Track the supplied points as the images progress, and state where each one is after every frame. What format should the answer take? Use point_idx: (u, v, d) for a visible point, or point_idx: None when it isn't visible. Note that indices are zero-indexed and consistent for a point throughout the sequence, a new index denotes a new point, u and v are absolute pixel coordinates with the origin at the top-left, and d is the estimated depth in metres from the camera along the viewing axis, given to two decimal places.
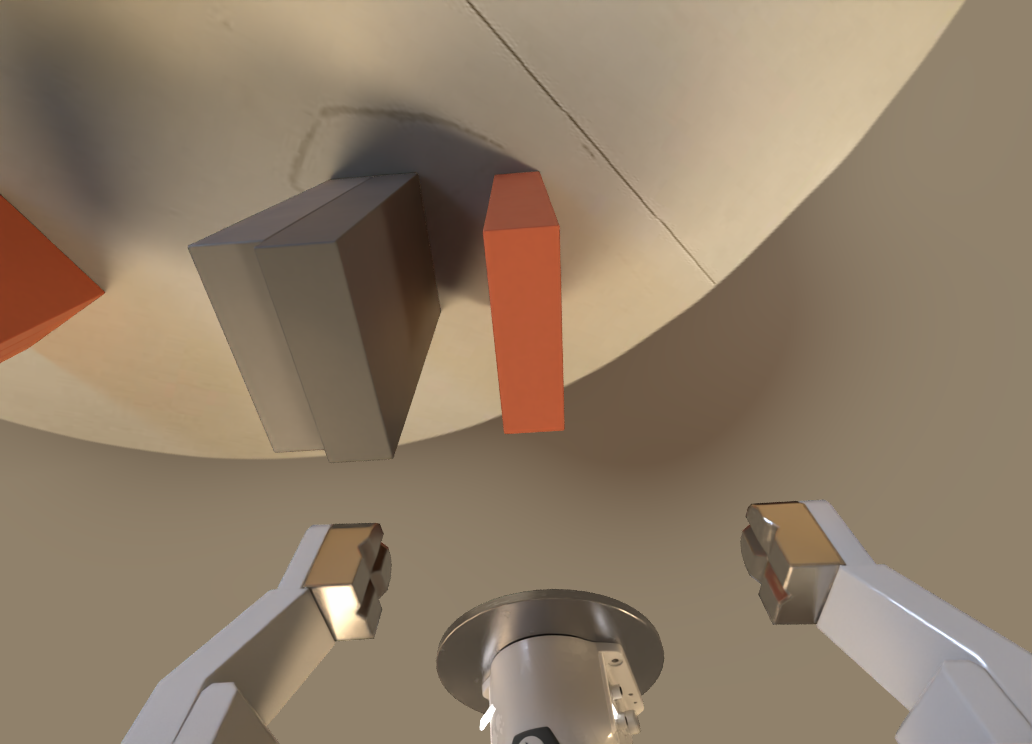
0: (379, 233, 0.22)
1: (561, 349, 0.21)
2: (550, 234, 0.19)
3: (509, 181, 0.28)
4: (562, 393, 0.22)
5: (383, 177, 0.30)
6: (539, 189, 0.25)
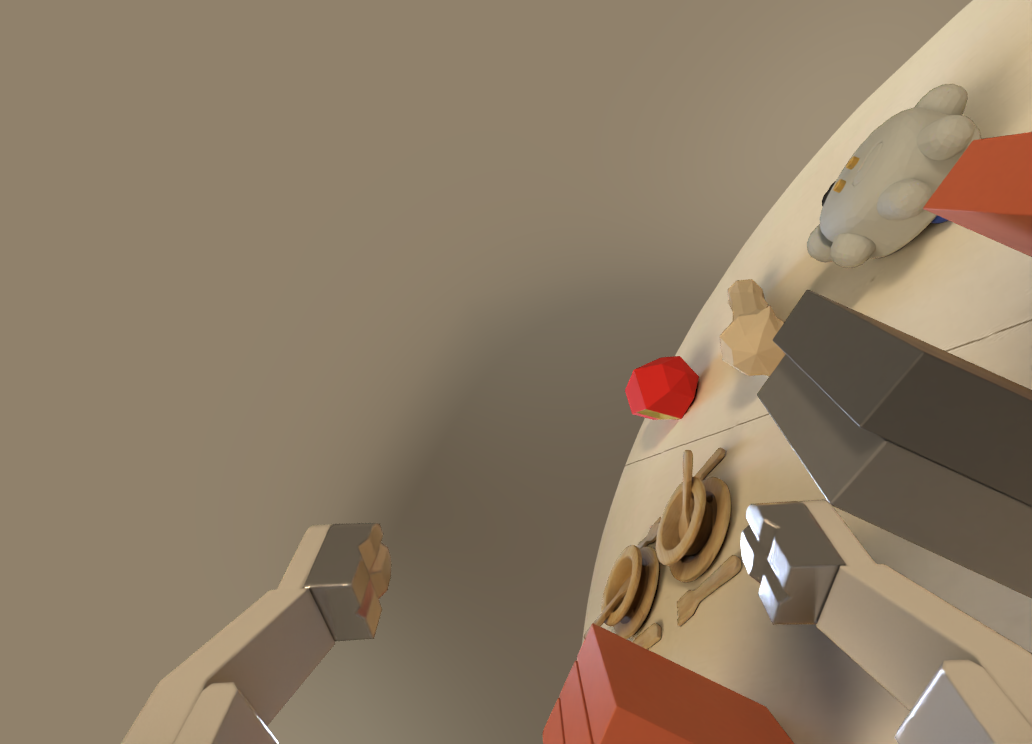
0: (919, 340, 0.23)
1: None
2: (971, 147, 0.20)
3: None
4: None
5: None
6: None
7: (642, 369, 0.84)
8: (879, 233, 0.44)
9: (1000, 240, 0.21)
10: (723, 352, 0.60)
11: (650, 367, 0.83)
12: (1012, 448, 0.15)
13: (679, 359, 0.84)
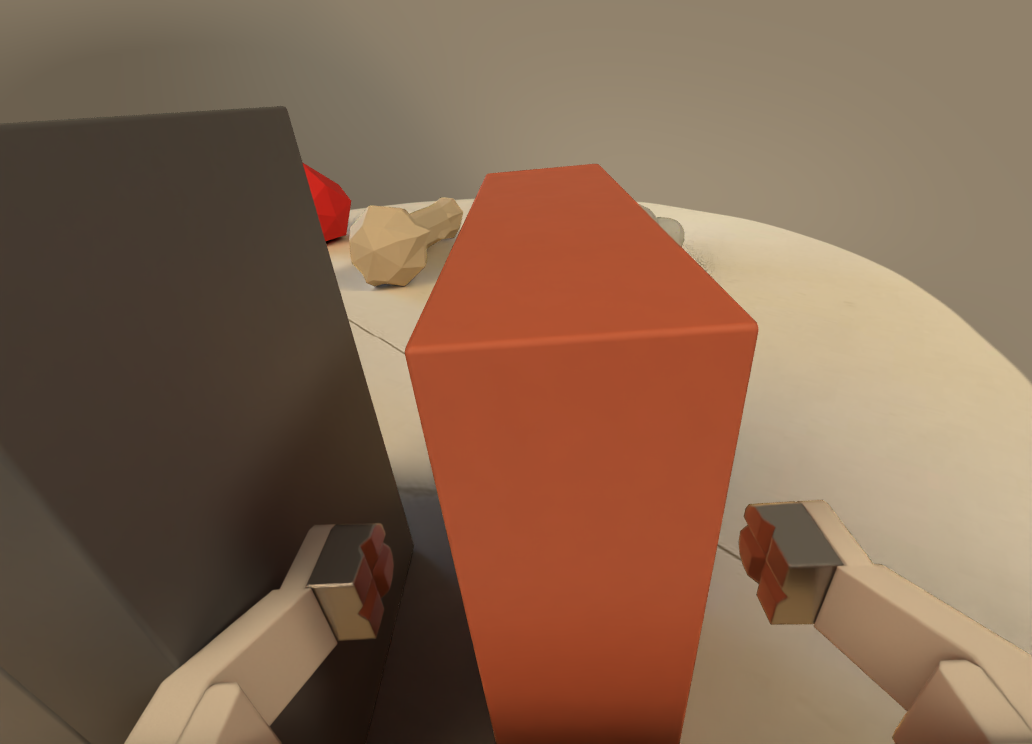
0: (331, 313, 0.14)
1: (640, 208, 0.08)
2: (586, 166, 0.12)
3: None
4: (680, 249, 0.06)
5: None
6: None
7: (304, 168, 0.65)
8: None
9: None
10: (357, 221, 0.48)
11: (313, 175, 0.65)
12: None
13: (346, 202, 0.68)
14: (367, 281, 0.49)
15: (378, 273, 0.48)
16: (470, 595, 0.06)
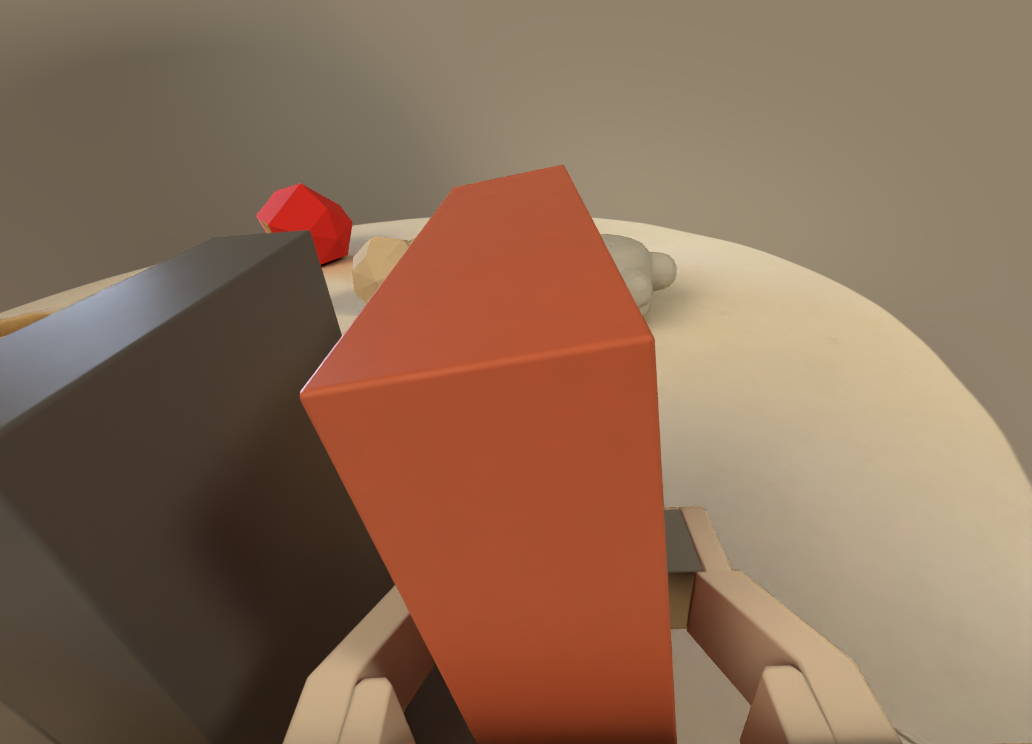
0: None
1: (585, 211, 0.08)
2: (550, 168, 0.12)
3: None
4: (606, 254, 0.06)
5: None
6: None
7: (307, 192, 0.66)
8: None
9: None
10: (359, 252, 0.50)
11: (315, 199, 0.66)
12: (52, 668, 0.07)
13: (348, 224, 0.70)
14: None
15: None
16: (424, 627, 0.06)
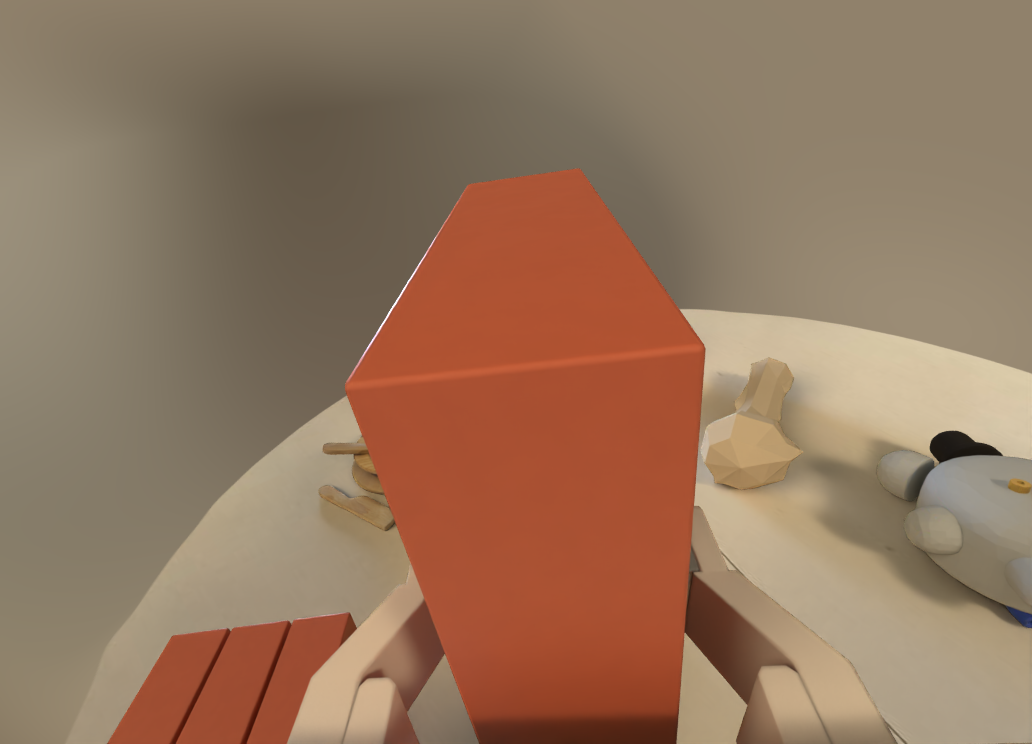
0: None
1: (611, 216, 0.08)
2: (567, 171, 0.12)
3: None
4: (641, 261, 0.06)
5: None
6: None
7: None
8: (975, 561, 0.35)
9: None
10: (718, 425, 0.48)
11: None
12: None
13: None
14: (716, 482, 0.48)
15: (733, 481, 0.47)
16: (441, 623, 0.06)
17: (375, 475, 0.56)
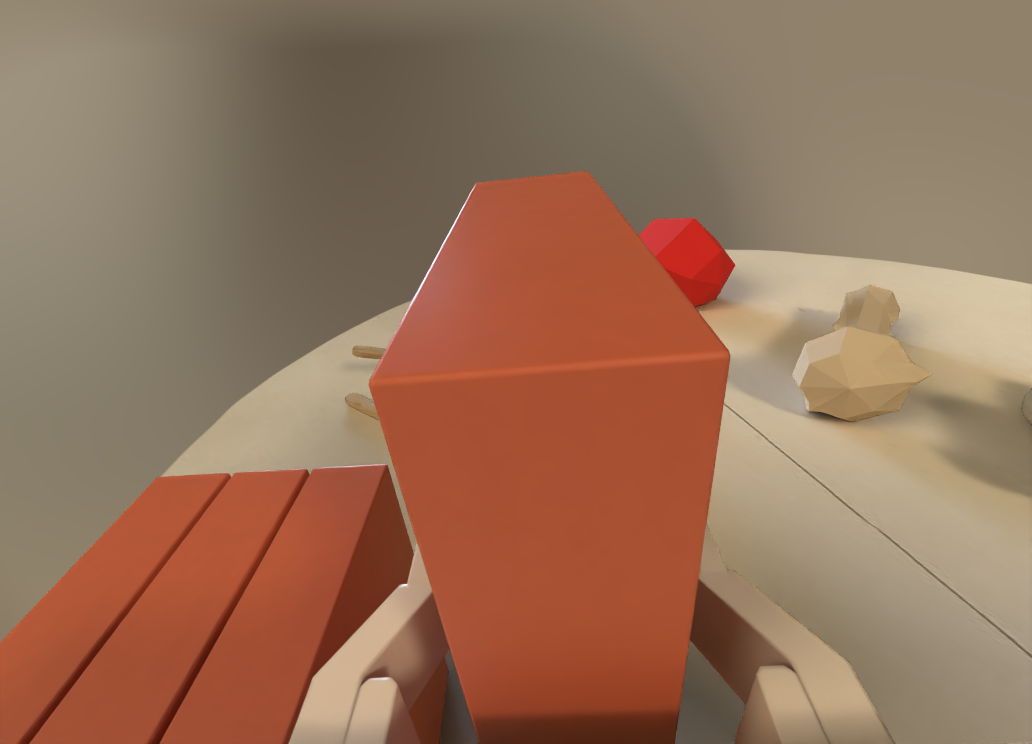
0: None
1: (624, 220, 0.08)
2: (575, 173, 0.12)
3: None
4: (659, 266, 0.06)
5: None
6: None
7: (700, 229, 0.59)
8: None
9: None
10: (821, 340, 0.40)
11: (708, 238, 0.58)
12: None
13: (731, 267, 0.60)
14: (811, 410, 0.41)
15: (835, 408, 0.39)
16: (450, 622, 0.06)
17: None
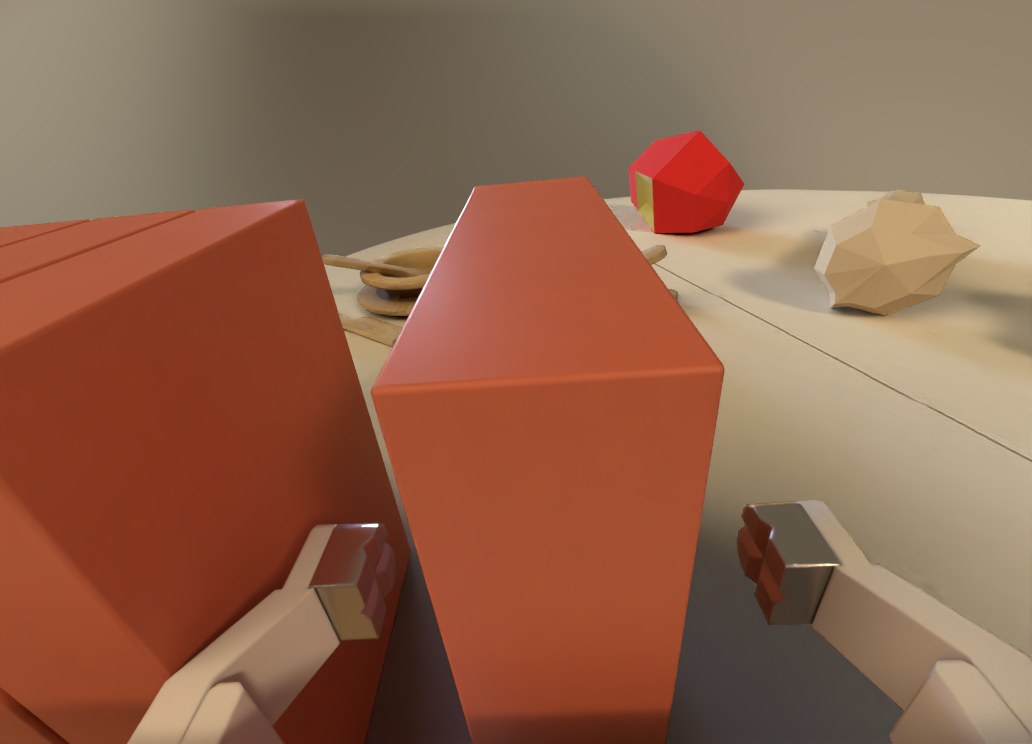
0: None
1: (622, 229, 0.08)
2: (574, 179, 0.12)
3: None
4: (656, 277, 0.06)
5: None
6: None
7: (706, 141, 0.54)
8: None
9: None
10: (850, 219, 0.35)
11: (715, 150, 0.53)
12: None
13: (740, 185, 0.56)
14: (837, 302, 0.36)
15: (866, 295, 0.34)
16: (446, 624, 0.06)
17: (385, 299, 0.45)
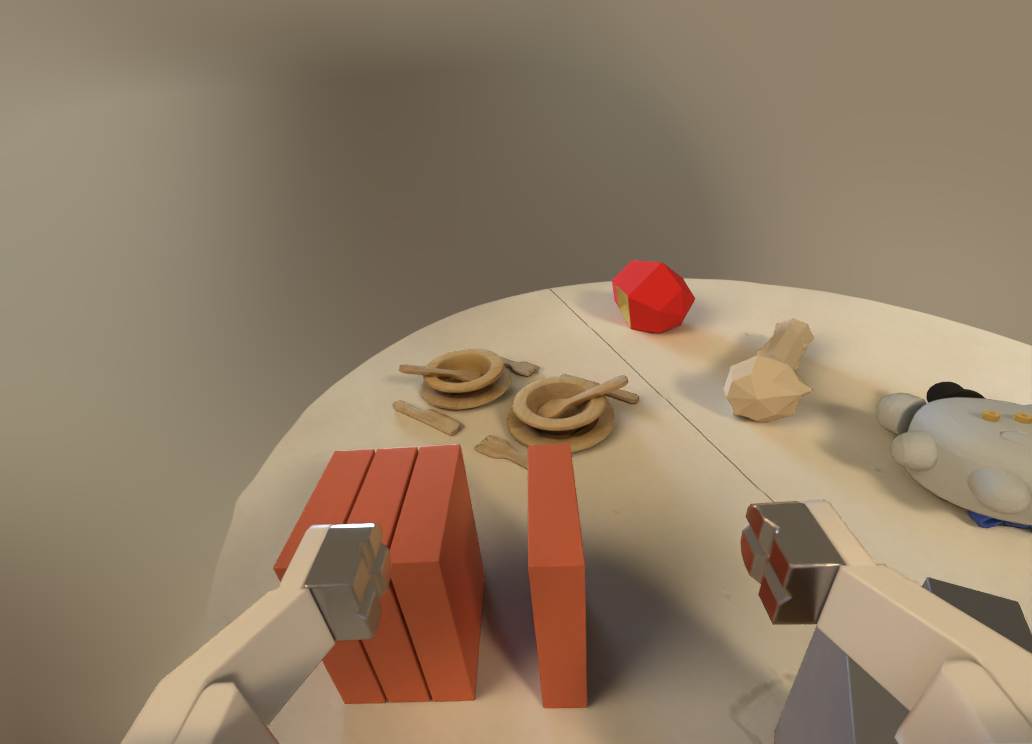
0: None
1: (576, 500, 0.29)
2: (565, 446, 0.33)
3: None
4: (579, 531, 0.27)
5: None
6: None
7: (666, 271, 0.75)
8: (945, 473, 0.43)
9: None
10: (741, 364, 0.56)
11: (672, 278, 0.74)
12: None
13: (692, 300, 0.77)
14: (735, 414, 0.57)
15: (750, 413, 0.55)
16: (534, 605, 0.27)
17: (441, 394, 0.66)
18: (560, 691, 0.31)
